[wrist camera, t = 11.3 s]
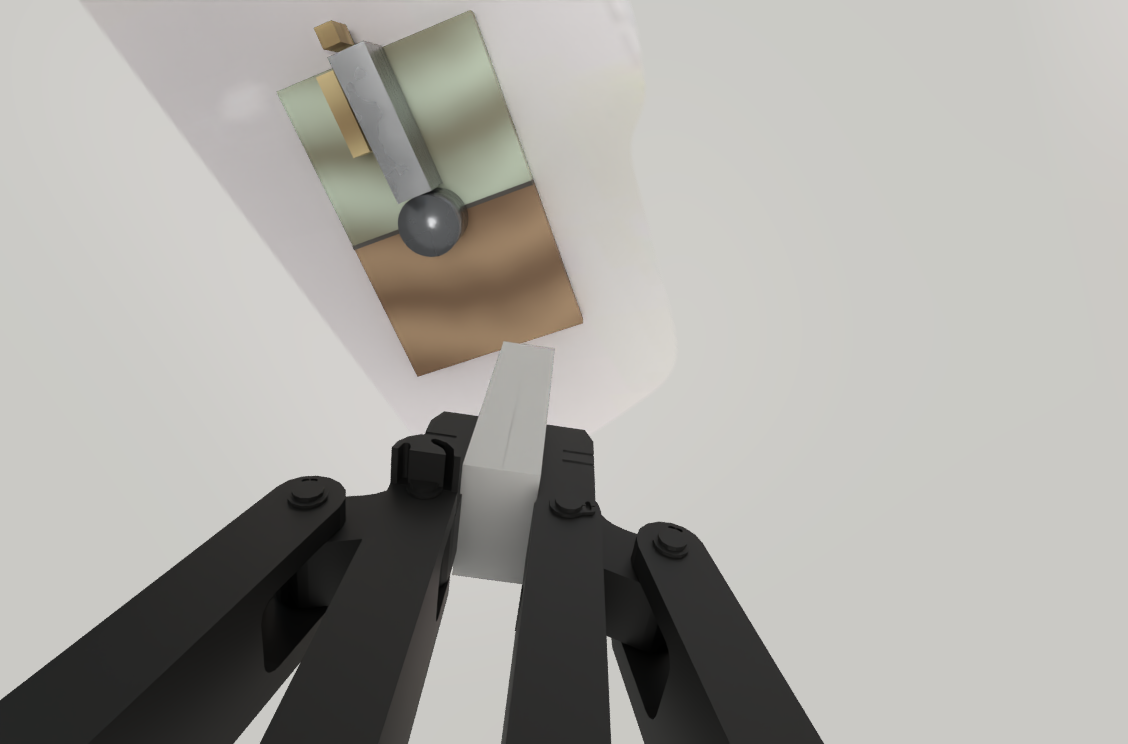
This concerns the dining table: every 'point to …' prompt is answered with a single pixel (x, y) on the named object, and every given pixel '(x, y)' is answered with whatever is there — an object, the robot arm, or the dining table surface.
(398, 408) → the dining table surface
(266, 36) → the dining table surface
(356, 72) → the bar
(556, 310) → the door board
